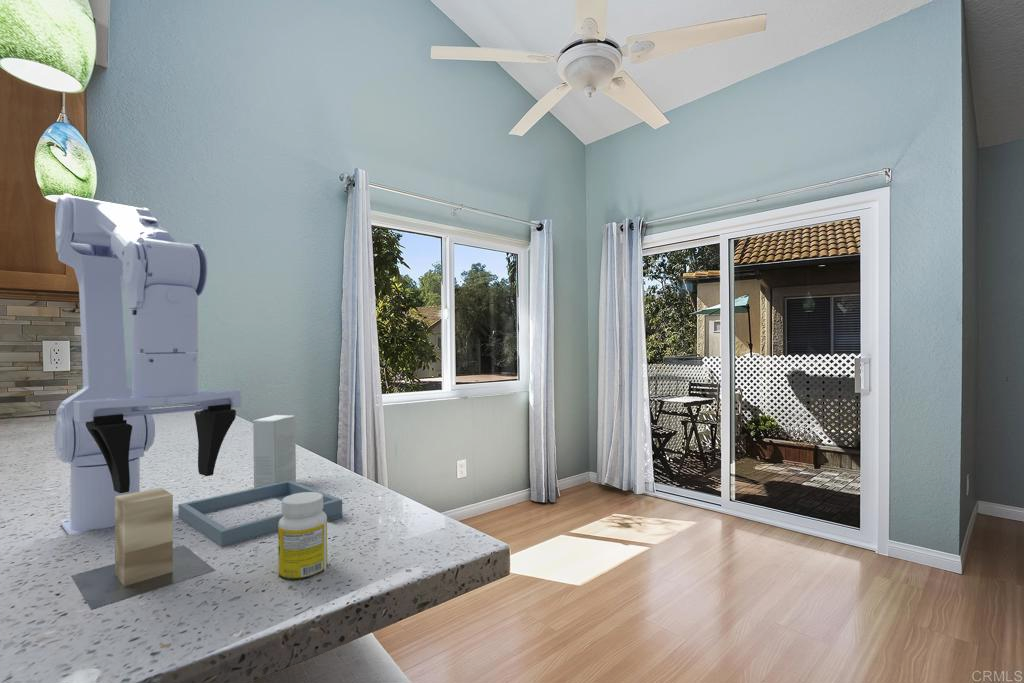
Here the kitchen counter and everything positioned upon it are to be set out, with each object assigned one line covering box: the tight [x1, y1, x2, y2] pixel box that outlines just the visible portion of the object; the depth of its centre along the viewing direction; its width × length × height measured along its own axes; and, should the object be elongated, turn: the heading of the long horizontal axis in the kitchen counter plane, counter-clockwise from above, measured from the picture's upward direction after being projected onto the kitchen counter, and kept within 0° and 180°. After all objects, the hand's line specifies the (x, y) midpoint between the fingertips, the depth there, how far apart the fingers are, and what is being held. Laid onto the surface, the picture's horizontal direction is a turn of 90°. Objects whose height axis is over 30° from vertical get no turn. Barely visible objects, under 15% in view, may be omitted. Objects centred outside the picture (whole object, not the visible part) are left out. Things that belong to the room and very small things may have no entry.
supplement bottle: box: [277, 492, 328, 582], centre depth 51 cm, size 5×5×8 cm
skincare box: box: [252, 414, 297, 488], centre depth 85 cm, size 6×4×12 cm
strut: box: [114, 487, 174, 586], centre depth 51 cm, size 4×4×8 cm
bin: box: [177, 480, 343, 548], centre depth 68 cm, size 16×16×2 cm
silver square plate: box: [70, 544, 216, 611], centre depth 51 cm, size 10×10×4 cm
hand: (166, 482), depth 52 cm, fingers open, 7 cm apart
